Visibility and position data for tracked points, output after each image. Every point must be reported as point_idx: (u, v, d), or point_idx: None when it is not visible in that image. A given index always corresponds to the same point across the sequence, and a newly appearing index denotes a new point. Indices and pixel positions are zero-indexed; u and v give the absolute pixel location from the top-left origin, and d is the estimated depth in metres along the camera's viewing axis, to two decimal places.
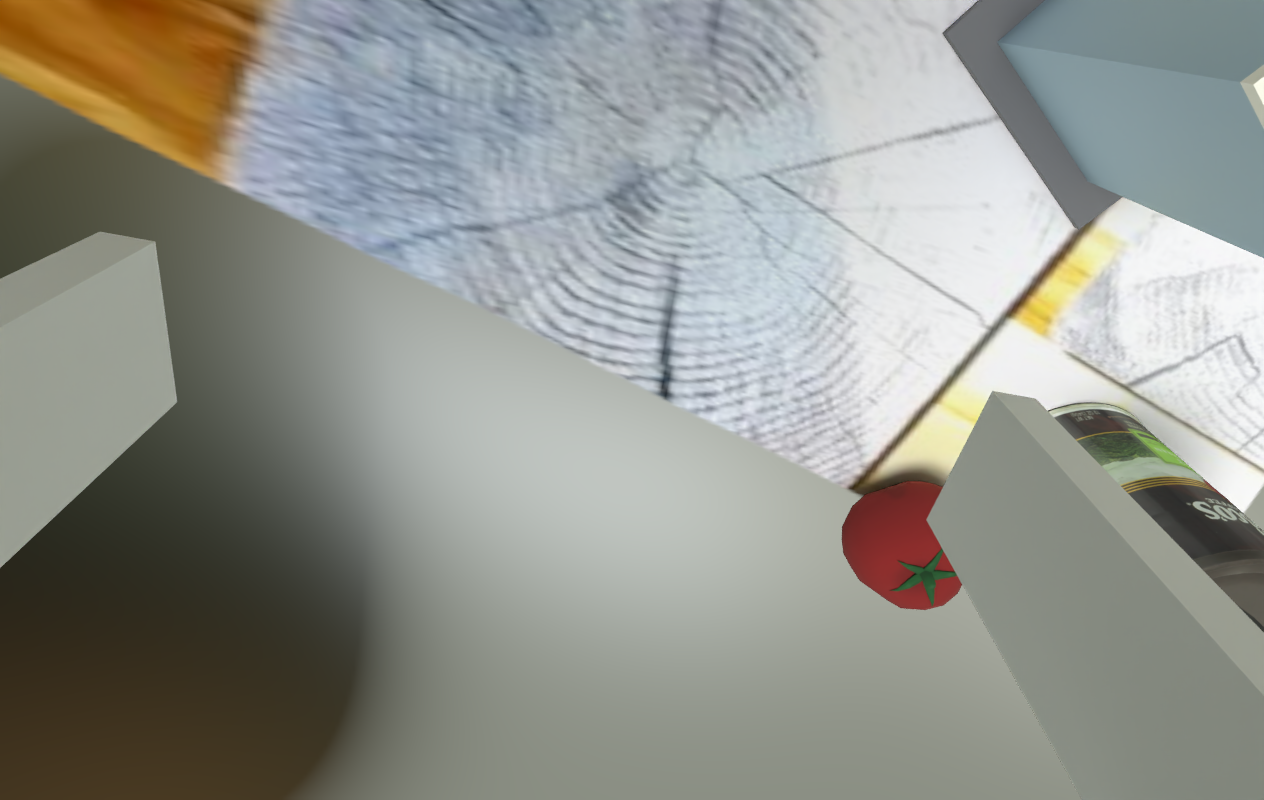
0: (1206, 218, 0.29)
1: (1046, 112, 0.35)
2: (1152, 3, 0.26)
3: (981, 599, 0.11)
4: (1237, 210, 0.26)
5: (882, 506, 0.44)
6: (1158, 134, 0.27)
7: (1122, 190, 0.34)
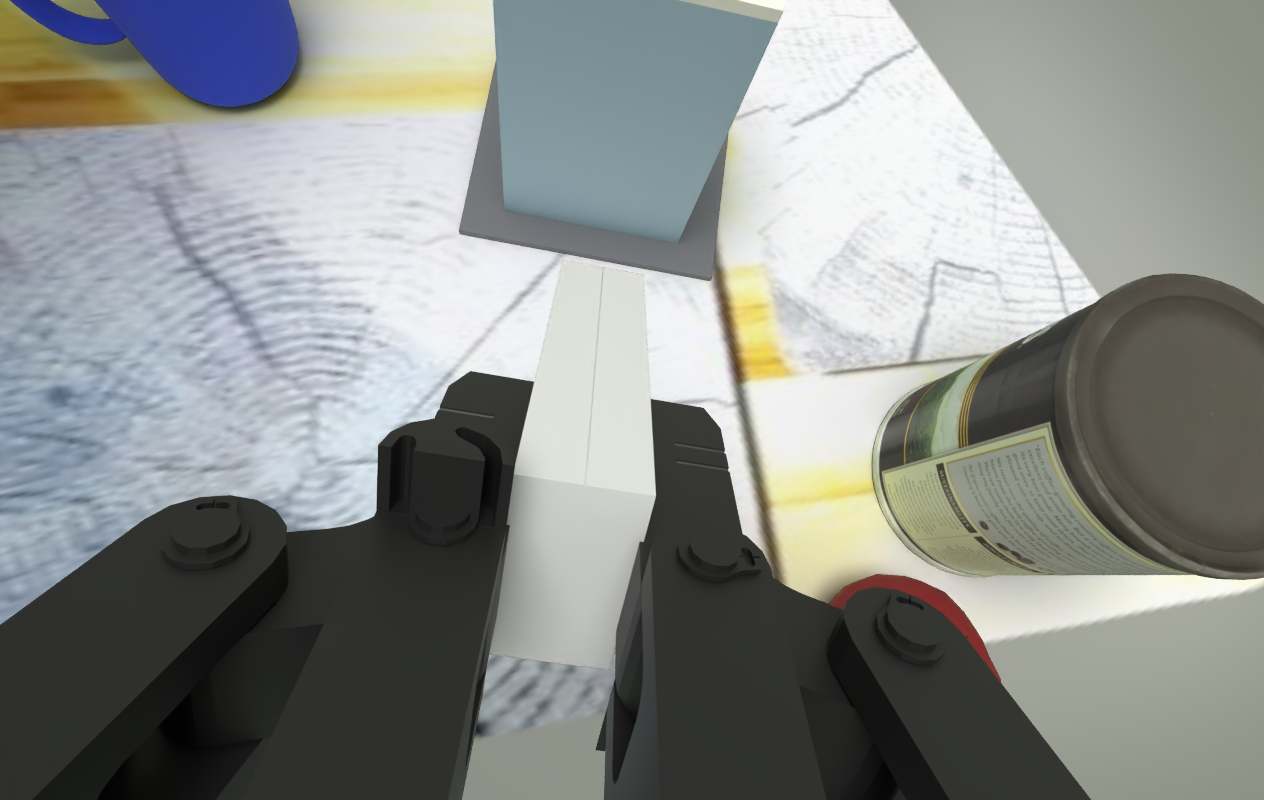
0: (698, 130, 0.28)
1: (587, 222, 0.37)
2: None
3: None
4: (676, 82, 0.26)
5: None
6: (587, 106, 0.28)
7: (680, 209, 0.34)
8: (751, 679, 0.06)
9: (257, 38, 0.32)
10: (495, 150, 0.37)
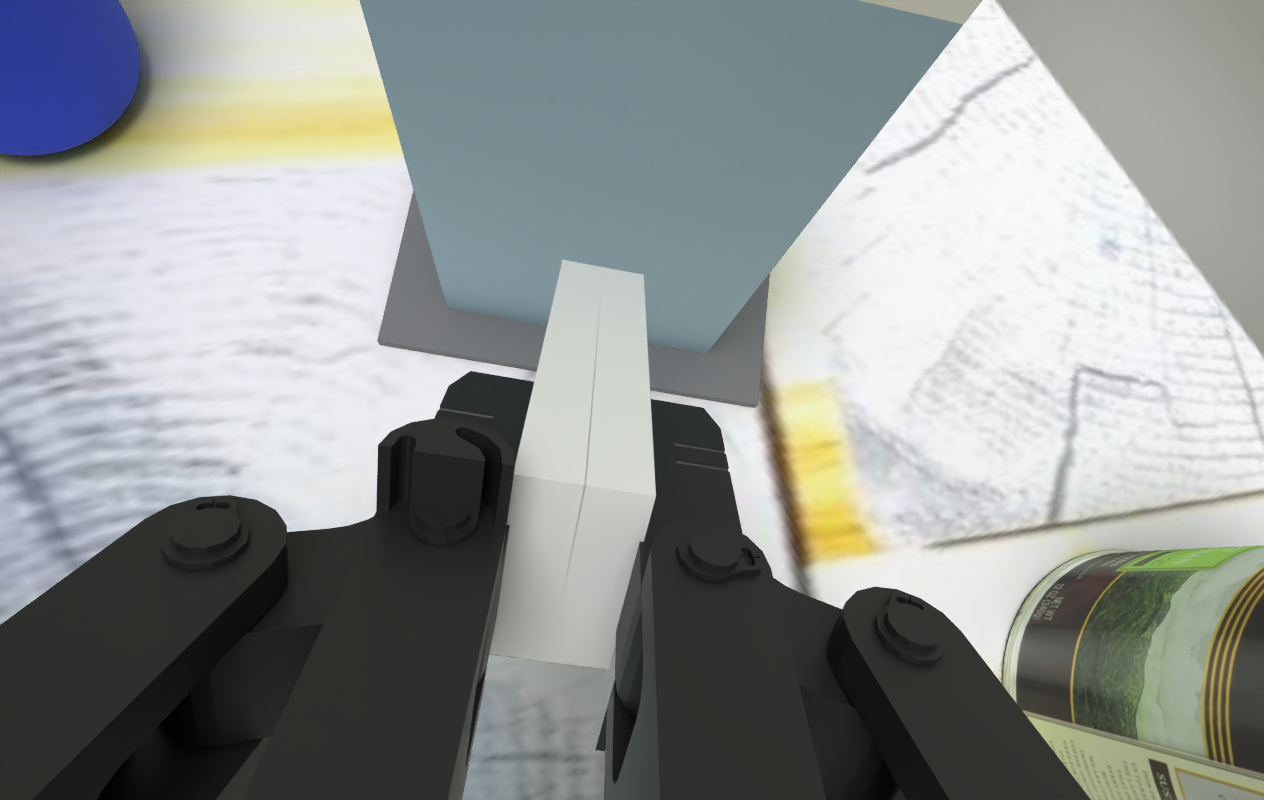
0: (759, 215, 0.16)
1: None
2: None
3: None
4: (728, 137, 0.14)
5: None
6: (562, 175, 0.16)
7: (715, 316, 0.22)
8: (750, 678, 0.06)
9: (40, 53, 0.20)
10: None
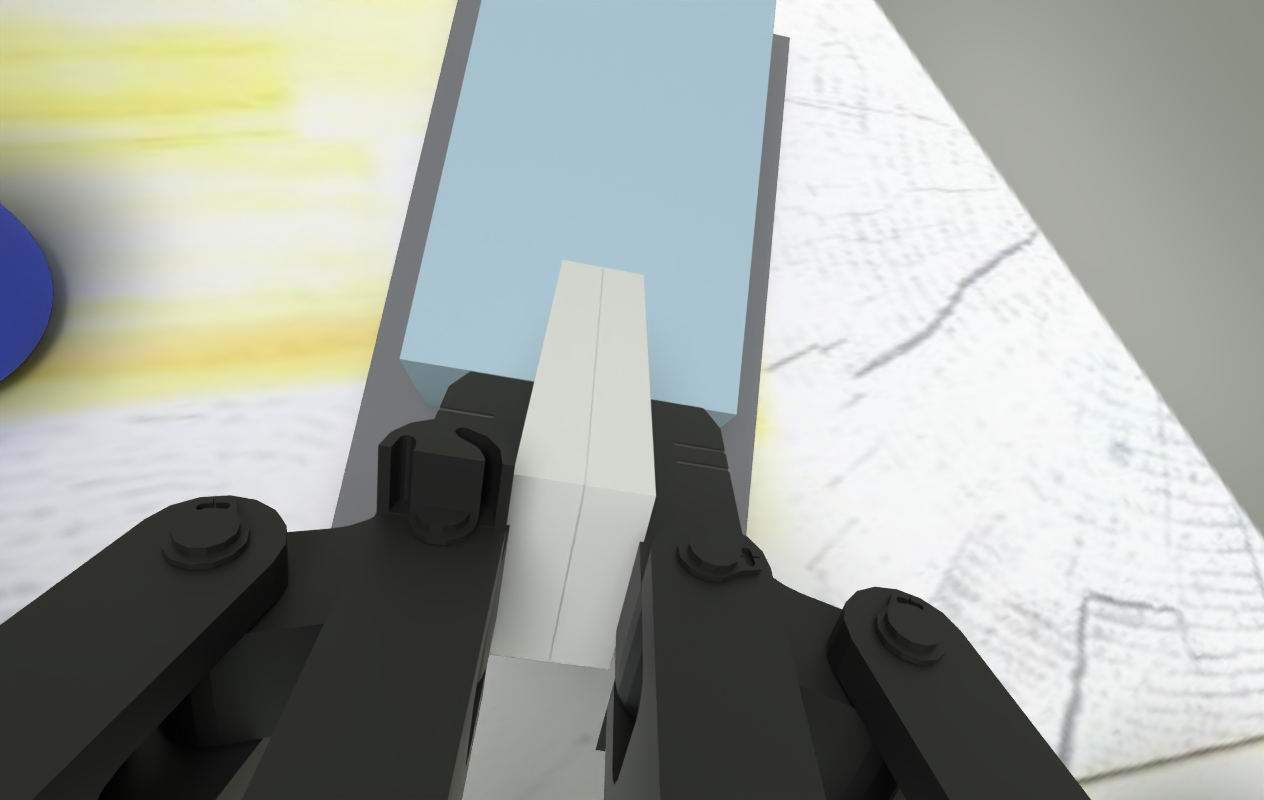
0: (729, 109, 0.22)
1: None
2: None
3: None
4: (693, 34, 0.22)
5: None
6: (585, 78, 0.21)
7: (728, 294, 0.20)
8: (750, 680, 0.06)
9: None
10: None
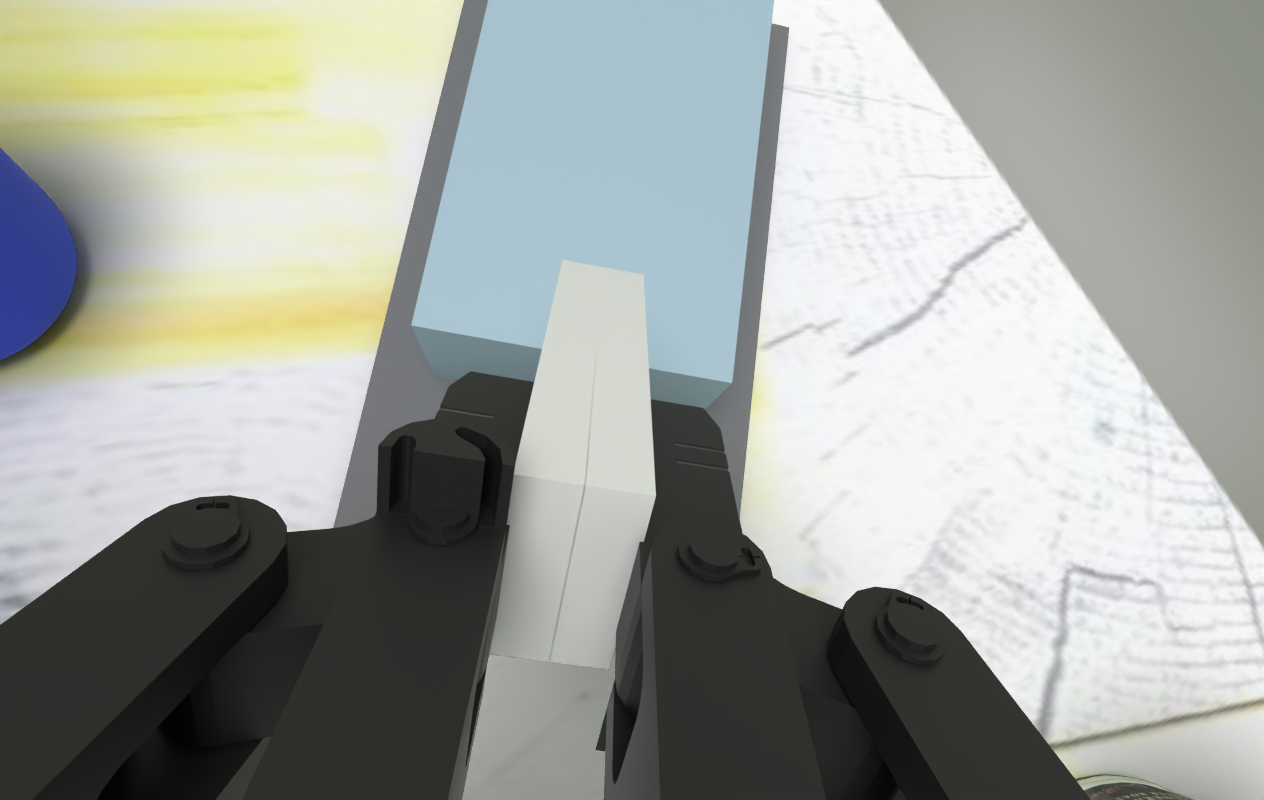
0: (729, 93, 0.23)
1: None
2: None
3: None
4: (695, 20, 0.23)
5: None
6: (591, 61, 0.22)
7: (726, 269, 0.21)
8: (751, 678, 0.06)
9: None
10: (389, 424, 0.24)
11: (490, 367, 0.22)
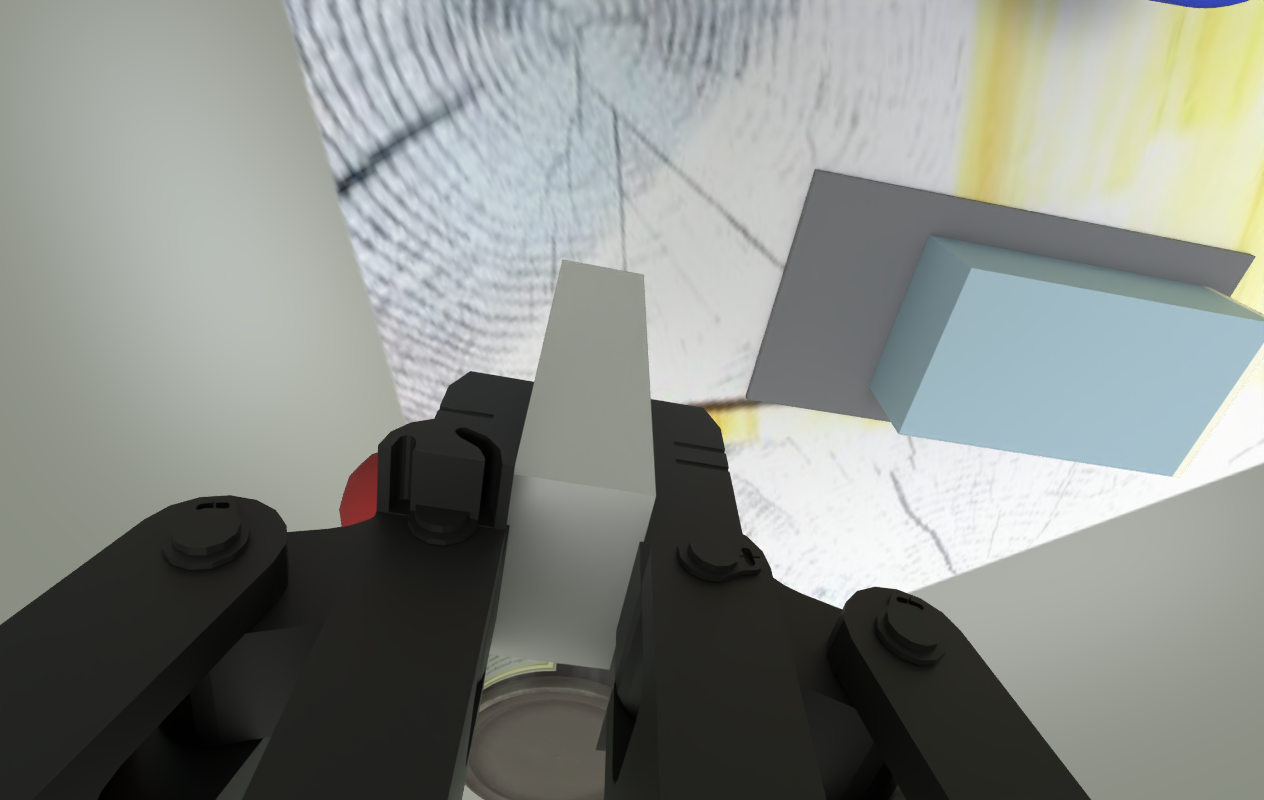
0: (1078, 443, 0.37)
1: (943, 353, 0.35)
2: (1094, 277, 0.36)
3: None
4: (1135, 427, 0.37)
5: None
6: (1123, 368, 0.35)
7: (965, 435, 0.37)
8: (751, 678, 0.06)
9: None
10: (902, 207, 0.36)
11: (931, 287, 0.36)
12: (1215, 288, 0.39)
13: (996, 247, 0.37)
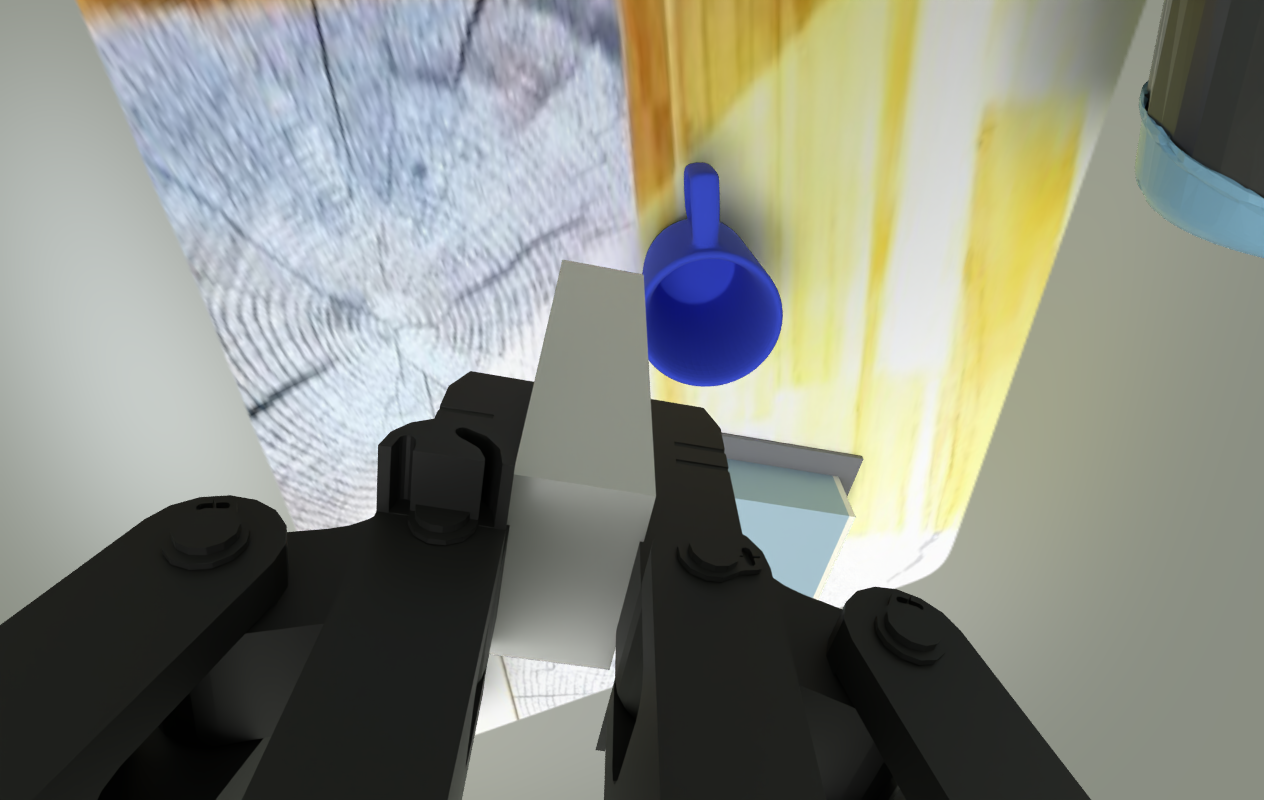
0: None
1: None
2: (741, 479, 0.54)
3: None
4: (776, 573, 0.56)
5: None
6: (757, 539, 0.54)
7: None
8: (751, 678, 0.06)
9: None
10: None
11: None
12: (841, 477, 0.57)
13: None
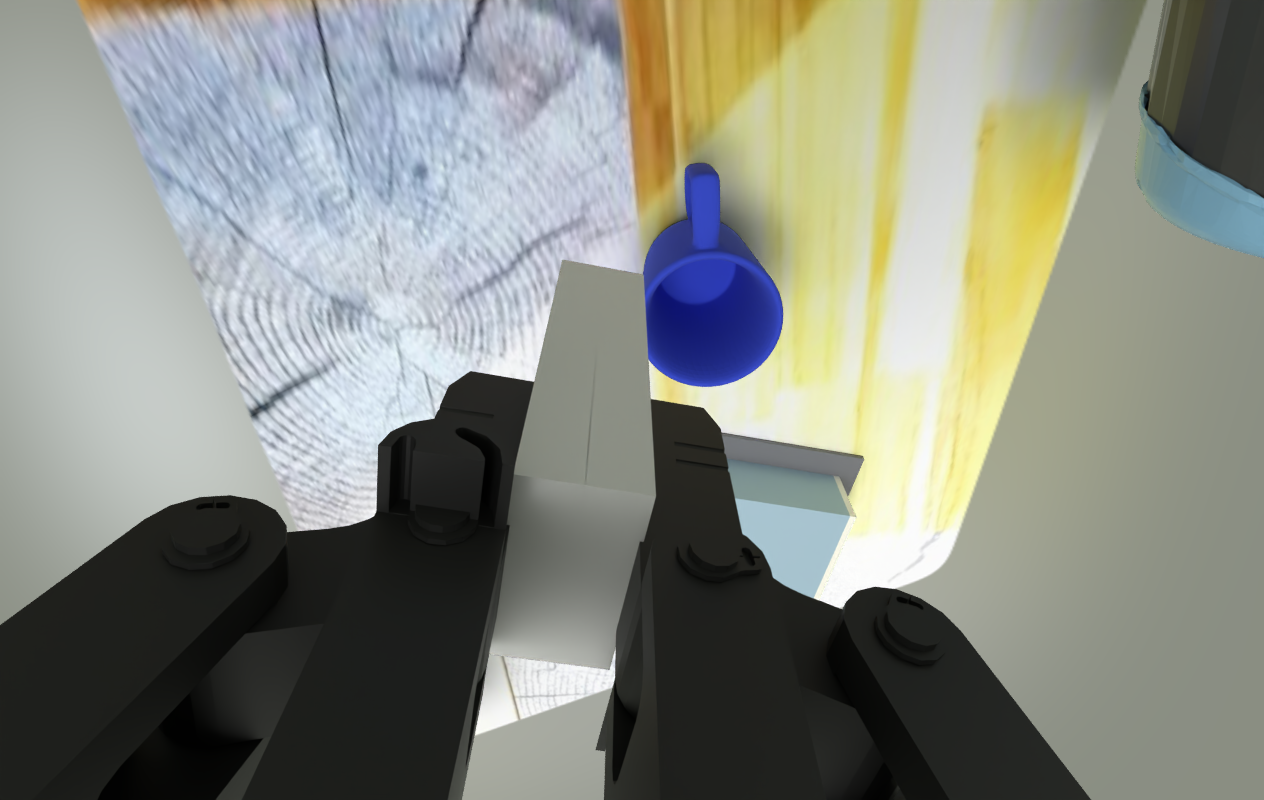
0: None
1: None
2: (742, 479, 0.54)
3: None
4: (777, 573, 0.56)
5: None
6: (758, 539, 0.54)
7: None
8: (751, 678, 0.06)
9: None
10: None
11: None
12: (842, 477, 0.57)
13: None
